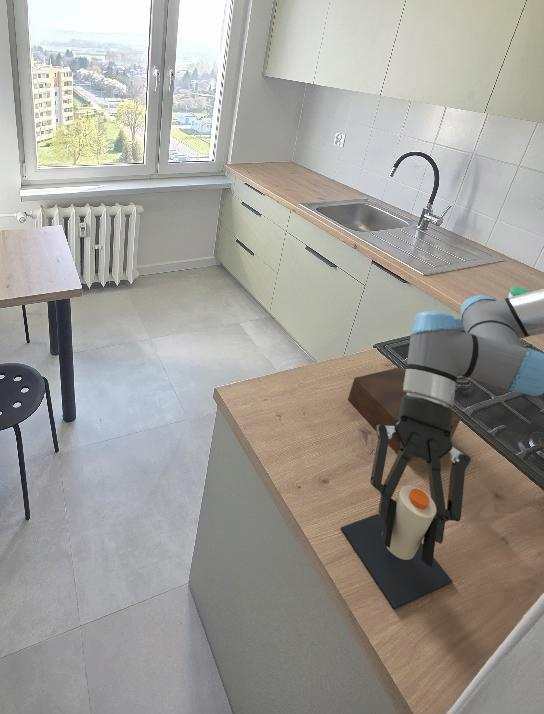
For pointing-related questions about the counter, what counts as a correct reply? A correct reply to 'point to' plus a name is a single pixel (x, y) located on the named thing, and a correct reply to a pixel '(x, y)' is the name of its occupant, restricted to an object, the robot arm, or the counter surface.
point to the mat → (393, 564)
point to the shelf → (383, 400)
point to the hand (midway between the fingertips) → (405, 553)
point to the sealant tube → (411, 521)
